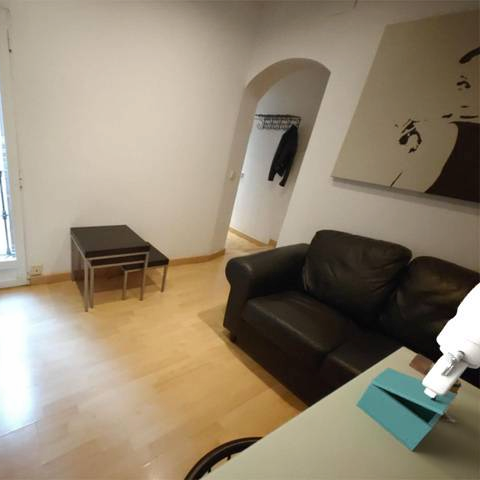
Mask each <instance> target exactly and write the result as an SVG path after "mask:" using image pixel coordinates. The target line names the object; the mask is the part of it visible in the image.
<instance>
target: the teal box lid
mask: <svg viewBox="0 0 480 480" xmlns="http://www.w3.org/2000/svg"><path fill="white" fill-rule="evenodd" d="M422 382H423V380H421V379H418V378H416V377H414V376H411V375H408V374H407V373H403V372H401V371H399V370H395V369H393V368H390V367H387V368H386V369H384V370H383V371H382V372H381V373H379V374H378V375H376V376H375V377H374V378H373V379H371V383H372V384H374V385H377V386H379V387H381V388H383V389H386V390H388V391H390V392H392V393H394V394H397V395H399V396H401V397H403V398H406V399H408V400H410V401H412V402H414V403H417V404H419V405H421V406H423V407H426V408H428V409H430V410H432V411H434V412H437V413H439V414H441V415H443V414H444V413H445V412H446V411H448V409H449V407H450V406H452V405H451V404H452V403H453V402H454V401H455V399H456V398H457V395H456V394H455V393H452V392H450V391H447V393H446V394H445V395H444V396H439V395H438V394H437V395H436V396H435V397H434V398H431V397H430V396H428V395H427V394H425V392H424V391H425V390H426V388H427V387H425V386H424V385H423V384H422Z"/></svg>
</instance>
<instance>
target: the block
mask: <svg viewBox="0 0 480 480" xmlns="http://www.w3.org/2000/svg"><path fill="white" fill-rule="evenodd" d="M433 363H434V361H433V360H431V359H429V358H428V357H426V356H424V355H422V354H421V353H417V354H416V355H415V356H413V358H412V359H411V361H410V362H409V364H408V366H409V367H411V368H412V369H414V370H415V371H416V372H418V373H420V374H422V375H424V374H425V373H427V372H428V370H429V369H430V368H431V366H432V365H433Z"/></svg>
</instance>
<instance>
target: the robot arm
mask: <svg viewBox="0 0 480 480" xmlns="http://www.w3.org/2000/svg"><path fill="white" fill-rule="evenodd" d="M436 342H437V343H438V345H439V350H440V351H441V352H442V354H443V355H442V356H441V357H440V358H439V359H438V360H437V361H436V362H435V364H434V365H433V366H432V368H431V369H430V370H429V371H428V373H427V374H426V375H425V377H424V378H423V380H422V381H423V382H422V384H423V385H424V386H425V387H427V388H426V390H425V391H424V392H425V394H427V395H428V396H430V397H431V398H434V397H435V396H436V395H437V394H438V395H439V396H444V395H445V394H446V393H447V391H448V390H449V389H450V388H451V386H452V385H453V384H454V383H455V381H456V380H457V379H458V380H459V378H460V377H461V375H462V374H463V373H464V372H465V370H466V369H467V368H470V369H478V368H480V282H479V283H478V284H477V285H475V287H474V288H472V290H470V292H469V293H467V295H466V296H465V297H464V299H463V300H462V301H461V302H460V304H459V306H458V307H457V311H456V315H455V316H454V317H453V318H451V319H450V320H448V321H447V323H446V325H445V326H444V327H443V329H442V330H441V332H440V333H439V334H438V335H437V337H436Z"/></svg>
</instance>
